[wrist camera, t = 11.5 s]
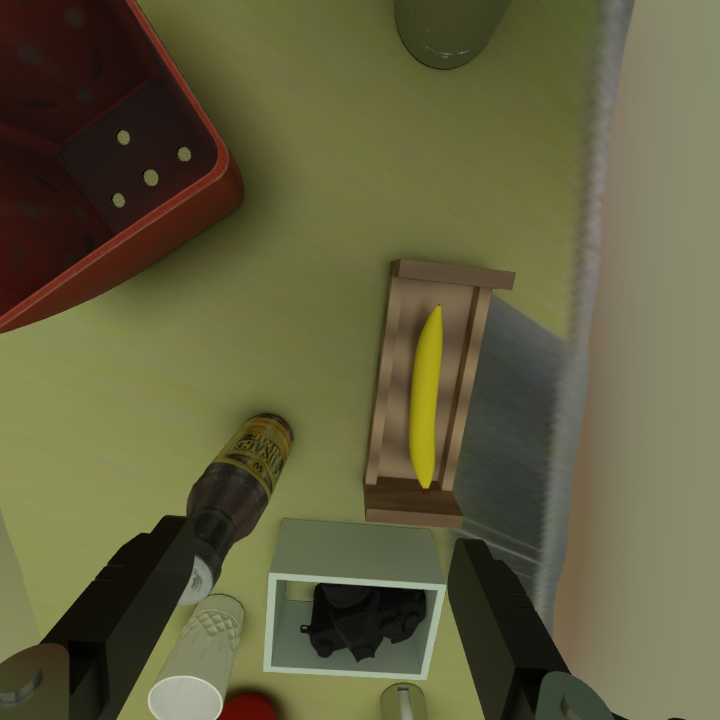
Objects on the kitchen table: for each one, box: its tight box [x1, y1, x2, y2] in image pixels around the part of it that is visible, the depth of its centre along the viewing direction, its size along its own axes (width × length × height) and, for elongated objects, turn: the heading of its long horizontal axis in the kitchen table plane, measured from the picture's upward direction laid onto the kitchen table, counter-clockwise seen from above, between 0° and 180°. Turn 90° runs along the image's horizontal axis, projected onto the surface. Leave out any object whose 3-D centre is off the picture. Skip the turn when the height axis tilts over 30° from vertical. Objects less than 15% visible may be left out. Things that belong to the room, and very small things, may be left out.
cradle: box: [363, 259, 516, 529], centre depth 35 cm, size 26×10×7 cm, turn 174°
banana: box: [409, 304, 443, 497], centre depth 35 cm, size 3×19×6 cm, turn 178°
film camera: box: [300, 582, 426, 663], centre depth 40 cm, size 15×10×9 cm, turn 110°
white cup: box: [148, 594, 245, 720], centre depth 41 cm, size 8×8×10 cm
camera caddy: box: [263, 519, 447, 680], centre depth 41 cm, size 14×19×8 cm
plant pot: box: [0, 0, 244, 334], centre depth 25 cm, size 19×19×17 cm
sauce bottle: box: [177, 414, 292, 605], centre depth 30 cm, size 7×6×20 cm
